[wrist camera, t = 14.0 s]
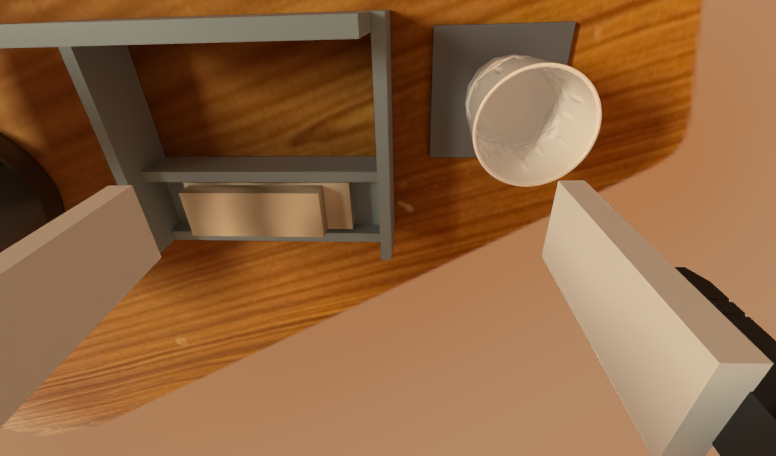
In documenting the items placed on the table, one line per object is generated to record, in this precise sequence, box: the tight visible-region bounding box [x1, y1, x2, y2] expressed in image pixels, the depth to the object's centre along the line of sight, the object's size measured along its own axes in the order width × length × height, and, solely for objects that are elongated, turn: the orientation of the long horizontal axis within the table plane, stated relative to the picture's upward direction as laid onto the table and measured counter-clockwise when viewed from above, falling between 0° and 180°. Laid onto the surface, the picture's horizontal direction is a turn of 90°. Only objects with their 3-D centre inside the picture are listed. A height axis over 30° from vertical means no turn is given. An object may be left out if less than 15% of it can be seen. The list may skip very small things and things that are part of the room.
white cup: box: [465, 54, 602, 187], centre depth 28 cm, size 8×8×10 cm
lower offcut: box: [183, 182, 355, 229], centre depth 37 cm, size 16×5×2 cm, turn 92°
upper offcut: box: [179, 185, 328, 237], centre depth 36 cm, size 13×5×2 cm, turn 92°
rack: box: [0, 10, 395, 260], centre depth 31 cm, size 24×20×12 cm
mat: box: [430, 22, 576, 158], centre depth 33 cm, size 11×11×1 cm
